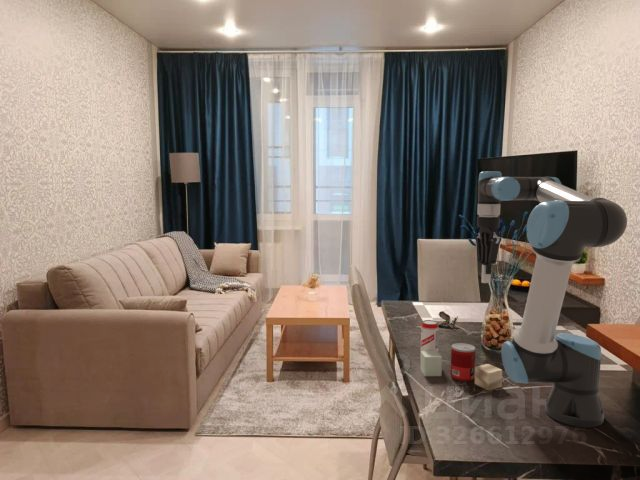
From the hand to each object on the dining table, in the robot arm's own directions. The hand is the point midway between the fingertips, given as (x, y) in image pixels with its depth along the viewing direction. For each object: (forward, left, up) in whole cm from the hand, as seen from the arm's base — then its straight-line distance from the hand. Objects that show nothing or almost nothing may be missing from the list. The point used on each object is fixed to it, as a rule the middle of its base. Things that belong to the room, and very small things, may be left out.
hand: (485, 282), depth 172 cm
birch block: (-13, +6, -32) cm, 35 cm away
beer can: (+9, +17, -32) cm, 37 cm away
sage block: (+1, +20, -32) cm, 38 cm away
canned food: (-5, +11, -32) cm, 34 cm away
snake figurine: (+51, -11, -32) cm, 61 cm away
